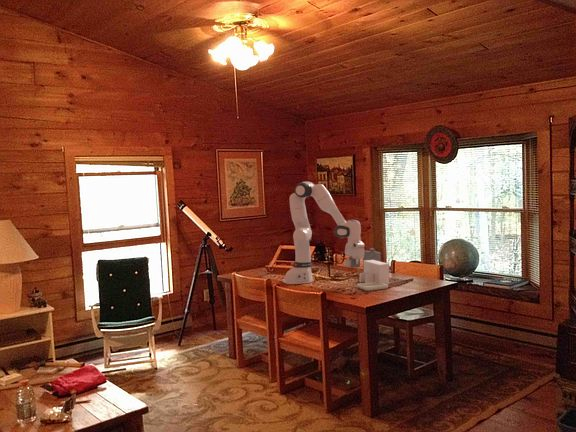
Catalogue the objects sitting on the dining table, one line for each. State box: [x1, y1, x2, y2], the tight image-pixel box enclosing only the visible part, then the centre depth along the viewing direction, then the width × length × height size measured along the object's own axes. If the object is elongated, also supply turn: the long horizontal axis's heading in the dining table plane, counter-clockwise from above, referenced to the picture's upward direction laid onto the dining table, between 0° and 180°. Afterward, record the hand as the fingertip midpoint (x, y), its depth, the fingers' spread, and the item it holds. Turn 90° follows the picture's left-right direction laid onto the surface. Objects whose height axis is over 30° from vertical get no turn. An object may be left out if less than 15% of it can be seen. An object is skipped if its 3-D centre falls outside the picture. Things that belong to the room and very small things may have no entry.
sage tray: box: [356, 282, 389, 292], centre depth 365 cm, size 17×12×2 cm
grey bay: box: [358, 260, 390, 285], centre depth 384 cm, size 15×20×14 cm
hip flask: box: [362, 247, 382, 273], centre depth 412 cm, size 16×4×20 cm, turn 43°
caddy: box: [343, 257, 361, 268], centre depth 376 cm, size 11×5×6 cm, turn 115°
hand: (354, 263), depth 377 cm, fingers closed on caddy, 5 cm apart
